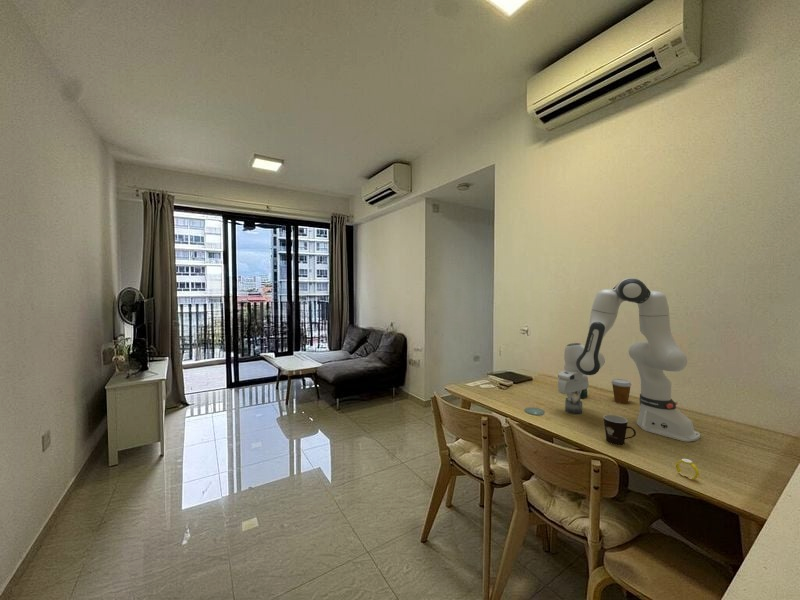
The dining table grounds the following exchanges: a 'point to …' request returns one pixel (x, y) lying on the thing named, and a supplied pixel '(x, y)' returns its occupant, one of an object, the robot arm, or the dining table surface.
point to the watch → (687, 463)
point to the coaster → (534, 411)
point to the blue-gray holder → (573, 407)
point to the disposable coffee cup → (621, 390)
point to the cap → (574, 397)
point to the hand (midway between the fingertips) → (573, 399)
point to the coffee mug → (616, 429)
